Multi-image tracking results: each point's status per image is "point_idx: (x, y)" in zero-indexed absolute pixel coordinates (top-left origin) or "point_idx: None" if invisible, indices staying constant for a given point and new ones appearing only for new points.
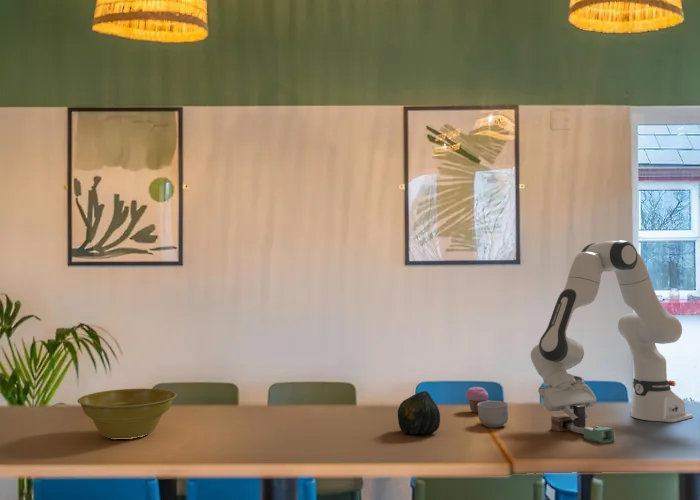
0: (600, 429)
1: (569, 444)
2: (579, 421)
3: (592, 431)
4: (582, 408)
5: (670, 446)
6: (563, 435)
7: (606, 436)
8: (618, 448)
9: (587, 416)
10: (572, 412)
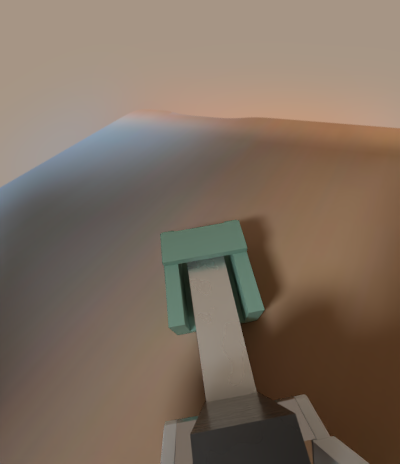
0: (220, 231)
1: (351, 255)
2: (255, 396)
3: (246, 256)
4: (227, 421)
5: (70, 183)
6: (337, 416)
7: (181, 268)
8: (211, 190)
9: (174, 420)
10: (330, 443)
